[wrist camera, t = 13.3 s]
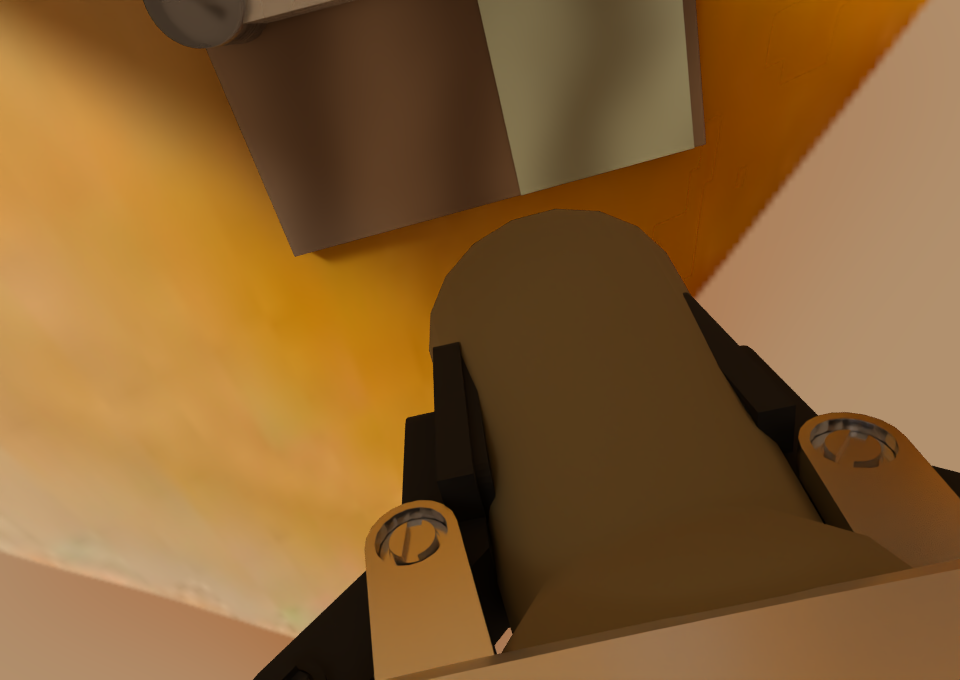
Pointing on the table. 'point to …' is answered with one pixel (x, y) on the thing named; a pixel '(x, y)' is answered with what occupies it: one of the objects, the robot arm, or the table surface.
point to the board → (455, 104)
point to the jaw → (225, 18)
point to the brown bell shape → (621, 440)
